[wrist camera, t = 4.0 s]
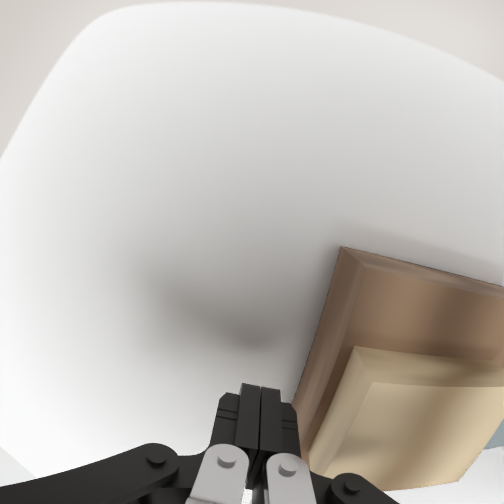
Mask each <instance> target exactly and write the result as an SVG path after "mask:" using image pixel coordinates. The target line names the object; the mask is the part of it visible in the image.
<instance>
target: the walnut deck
mask: <svg viewBox="0 0 504 504" xmlns="http://www.w3.org/2000/svg"><path fill="white" fill-rule="evenodd" d="M354 346H358V347H365V348H372V349H380V350H387V351H395V352H403V353H412V354H421V355H430V356H440V357H451V358H463V359H476V360H491V361H496V362H497V363H498V364H499V365H500V366H501V367H502V368H503V369H504V287H501V286H497V285H494V284H490V283H486V282H483V281H479V280H475V279H471V278H467V277H463V276H460V275H456V274H452V273H448V272H444V271H440V270H436V269H432V268H428V267H424V266H420V265H416V264H412V263H408V262H404V261H400V260H396V259H392V258H388V257H384V256H380V255H375V254H371V253H367V252H363V251H359V250H354V249H350V248H346V247H342V246H341V249H340V252H339V256H338V260H337V264H336V267H335V271H334V275H333V278H332V282H331V285H330V289H329V292H328V296H327V299H326V303H325V306H324V309H323V313H322V316H321V319H320V322H319V326H318V329H317V332H316V335H315V338H314V341H313V344H312V348H311V351H310V354H309V357H308V360H307V363H306V366H305V368H304V371H303V374H302V377H301V380H300V383H299V386H298V389H297V391H296V394H295V397H294V400H293V402H292V407H293V408H294V409H295V411H296V412H297V421H298V422H297V423H298V431H299V440H300V450H301V458H302V459H303V460H304V461H305V462H306V464H307V465H308V468H309V470H310V463H309V456H308V452H309V450H310V448H311V446H312V444H313V441H314V439H315V437H316V435H317V433H318V431H319V429H320V427H321V425H322V422H323V420H324V418H325V416H326V414H327V411H328V409H329V407H330V404H331V402H332V400H333V398H334V395H335V393H336V390H337V388H338V386H339V383H340V381H341V378H342V376H343V373H344V371H345V368H346V366H347V363H348V361H349V358H350V355H351V353H352V350H353V347H354Z"/></svg>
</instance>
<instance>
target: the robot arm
mask: <svg viewBox="0 0 504 504" xmlns="http://www.w3.org/2000/svg"><path fill="white" fill-rule="evenodd" d="M297 422H298V421H297V412H296V411H295V409H294V408H293V407H292V405H291V404H290V403H283V402H281V399H280V390H279V389H273V388H267V387H261V389H260V386H255V385H250V384H245V383H242V385H241V389H240V393H239V395H237V394H232V393H228V392H226V393H225V394H224V395H223V396H222V397H221V398H220V400H219V404H218V409H217V413H216V418H215V422H214V426H213V431H212V435H211V440H210V444H209V446H208V448H207V449H206V450H205V451H203V452H202V453H200V454H197V455H191V456H178V455H177V453H176V452H175V451H174V450H173V449H171V448H170V447H168V446H166V445H163V444H158V443H148V444H144V445H141V446H139V447H136V448H134V449H131V450H128V451H126V452H123V453H120V454H117V455H115V456H112V457H109V458H106V459H103V460H100V461H97V462H94V463H91V464H88V465H85V466H81V467H78V468H75V469H72V470H68V471H65V472H61V473H58V474H54V475H50V476H46V477H42V478H38V479H34V480H30V481H26V482H21V483H17V484H13V485H7V486H2V487H0V504H241V502H242V497H243V492H244V487H245V489H250V490H253V492H252V499H251V501H250V504H399V503H398V502H396V501H395V500H393V499H392V498H391V497H389V496H388V495H386V494H385V493H384V492H382V491H381V490H380V489H378V488H377V487H376V486H374V485H373V484H371V483H370V482H369V481H368V480H366V479H365V478H363V477H362V476H360V475H358V474H354V473H342V474H339V475H337V476H336V477H335V478H334V479H331V478H328V477H324V476H321V475H318V474H316V473H314V472H312V471H310V470H309V468H308V465H307V464H306V462H305V461H304V460H303V459H302V458H301V450H300V440H299V431H298V423H297ZM245 483H246V485H245Z"/></svg>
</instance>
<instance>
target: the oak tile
mask: <svg viewBox="0 0 504 504" xmlns="http://www.w3.org/2000/svg"><path fill="white" fill-rule="evenodd" d="M503 419H504V369H503V368H502V367H501V366H500V365H499V364H498V363H497V362H496V361H491V360H476V359H463V358H451V357H440V356H430V355H421V354H412V353H403V352H395V351H387V350H380V349H372V348H365V347H358V346H354V347H353V350H352V353H351V355H350V358H349V361H348V363H347V366H346V368H345V371H344V373H343V376H342V378H341V381H340V383H339V386H338V388H337V390H336V393H335V395H334V398H333V400H332V402H331V404H330V407H329V409H328V411H327V414H326V416H325V418H324V420H323V422H322V425H321V427H320V429H319V431H318V433H317V435H316V437H315V439H314V441H313V444H312V446H311V448H310V450H309V452H308V456H309V463H310V471H312V472H314V473H316V474H318V475H321V476H324V477H328V478H331V479H334V478H335V477H336V476H337V475H339V474H342V473H354V474H358V475H360V476H362V477H363V478H365V479H366V480H368V481H369V482H370V483H371V484H373V485H374V486H376V487H377V488H378V489H380V490H381V491H392V490H403V489H412V488H420V487H427V486H434V485H440V484H446V483H451V482H456V481H459V479H460V478H461V477H462V476H463V475H464V473H465V472H466V471H467V470H468V468H469V467H470V466H471V465H472V463H473V462H474V461H475V459H476V458H477V457H478V455H479V454H480V453H481V451H482V450H483V448H484V447H485V446H486V444H487V443H488V441H489V440H490V438H491V437H492V436H493V434H494V433H495V431H496V430H497V428H498V426H499V425H500V423H501V422H502V420H503Z"/></svg>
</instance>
